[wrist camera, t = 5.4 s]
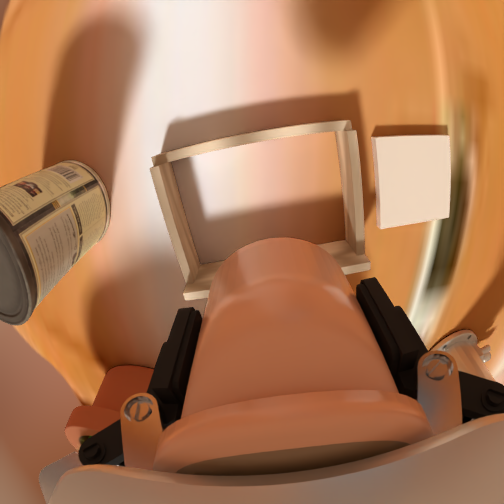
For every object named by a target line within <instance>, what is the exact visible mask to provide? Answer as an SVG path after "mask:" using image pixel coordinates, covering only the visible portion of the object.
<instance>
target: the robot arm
mask: <svg viewBox="0 0 504 504" xmlns="http://www.w3.org/2000/svg"><path fill="white" fill-rule="evenodd" d="M356 298H357V300H358V302H359V304H360V306H361V308H362V310H363V312H364V315H365V317H366V319H367V321H368V323H369V325H370V327H371V329H372V332H373V334H374V336H375V338H376V340H377V342H378V345H379V347H380V349H381V351H382V354H383V356H384V358H385V361H386V363H387V365H388V368H389V370H390V372H391V375H392V377H393V379H394V382H395V384H396V387H397V389H398V392H399V394H402V395H406V396H409V397H411V398H413V399H415V400H416V401H417V402H418V403H420V404H421V405H422V407H423V410H424V412H425V414H426V417H427V419H428V422H429V424H430V427H431V429H432V432H433V434H434V436H433V437H430V438H428V439H425V440H423V441H420V442H417V443H414V444H411V445H408V446H406V447H403V448H400V449H397V450H394V451H390V452H387V453H384V454H380V455H377V456H373V457H370V458H366V459H362V460H358V461H354V462H349V463H345V464H340V465H335V466H330V467H324V468H319V469H312V470H306V471H298V472H290V473H280V474H267V475H248V476H210V475H191V474H179V473H169V472H160V471H153V464H154V459H155V455H156V450H157V446H158V442H159V438H160V436H161V434H162V432H163V431H164V430H165V429H166V428H167V427H168V426H170V425H171V424H173V423H174V422H176V421H177V420H180V419H181V415H182V410H183V405H184V401H185V396H186V391H187V386H188V382H189V377H190V373H191V368H192V364H193V359H194V355H195V350H196V346H197V342H198V337H199V333H200V329H201V324H202V317H201V314H200V312H199V311H198V310H196V311H195V309H194V308H193V307H190V308H182V309H179V310H178V312H177V315H176V318H175V320H174V323H173V326H172V329H171V332H170V335H169V338H168V340H167V342H165V343H164V344H163V346H162V348H161V351H160V354H159V357H158V360H157V362H156V365H155V368H154V371H153V374H152V377H151V380H150V383H149V386H148V389H147V393H137V394H135V395H132V396H130V397H129V398H128V399H127V400H126V401H125V402H124V403H123V405H122V407H121V412H120V417H121V419H119V420H117V421H116V422H114V423H113V424H111V425H109V426H108V427H106V428H105V429H103V430H101V431H100V432H98V433H96V434H95V435H93V436H91V437H90V438H88V439H87V440H85V441H84V442H83V443H82V445H81V446H80V449H79V453H76V452H73V453H71V454H69V455H67V456H65V457H63V458H62V459H60V460H58V461H56V462H54V463H52V464H50V465H48V466H46V467H45V468H43V469H42V470H41V473H40V475H39V483H40V486H41V489H42V492H43V495H44V498H45V501H46V504H504V386H503V385H502V384H500V383H498V382H496V381H495V380H494V378H493V377H492V375H491V373H490V372H489V370H488V369H487V367H486V365H485V364H484V363H485V362H487V361H489V360H490V359H491V354H490V352H489V351H490V346H489V345H486V346H484V347H482V348H479V347H478V345H477V337H476V335H475V334H474V332H473V331H471V330H461V331H458V332H455V333H453V334H451V335H449V336H448V337H446V338H445V339H443V340H442V341H441V342H439V343H438V344H437V345H436V346H435V347H434V348H432V349H431V350H430V352H428V350H427V349H426V347H425V345H424V343H423V342H422V340H421V338H420V337H419V335H418V333H417V332H416V330H415V328H414V327H413V325H412V323H411V322H410V320H409V319H408V317H407V315H406V314H405V312H404V311H403V309H402V308H401V307H400V306H395V307H394V305H393V304H392V302H391V301H390V299H389V297H388V296H387V294H386V293H385V291H384V290H383V288H382V287H381V285H380V283H379V282H378V280H377V279H376V278H375V277H374V278H369V279H364V280H361V283H360V284H358V285H357V286H356Z"/></svg>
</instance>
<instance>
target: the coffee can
mask: <svg viewBox="0 0 504 504" xmlns="http://www.w3.org/2000/svg"><path fill="white" fill-rule="evenodd" d="M109 221H110V201H109V198H108V194H107V191H106V188H105V186H104V184H103V182H102V180H101V179H100V177H99V176H98V175H97V174H96V172H95V171H94V170H93V169H91V168H90V167H89V166H87V165H86V164H84V163H81V162H78V161H74V160H67V161H62V162H60V163H58V164H56V165H53V166H50V167H48V168H45V169H43V170H40V171H38V172H35V173H33V174H30V175H28V176H26V177H23V178H21V179H19V180H16V181H14V182H12V183H9V184H7V185H5V186H2V187H0V320H2V321H3V322H5V323H8V324H10V325H22V324H24V323H25V322H26V321H28V319H29V318H30V316H31V315H32V313H33V311H34V309H35V308H36V307H37V306H38V304H39V303H40V302H41V301H42V300H43V299H44V297H45V296H46V295H47V294H48V293H49V292H50V291H51V290H52V288H53V287H54V286H55V285H56V284H57V283H58V282H59V281H60V280H61V278H62V277H63V276H64V275H65V274H66V273H67V272H68V271H69V270H70V269H71V268H72V267H73V266H74V265H75V264H76V263H77V262H78V261H79V260H80V259H81V258H82V257H83V256H84V255H85V254H86V253H87V252H88V251H89V250H90V249H91V248H92V247H93V246H94V245H95V244H97V243H98V242H99V241H100V240H101V239H102V238H103V236H104V235H105V233H106V230H107V228H108V225H109Z"/></svg>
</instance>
